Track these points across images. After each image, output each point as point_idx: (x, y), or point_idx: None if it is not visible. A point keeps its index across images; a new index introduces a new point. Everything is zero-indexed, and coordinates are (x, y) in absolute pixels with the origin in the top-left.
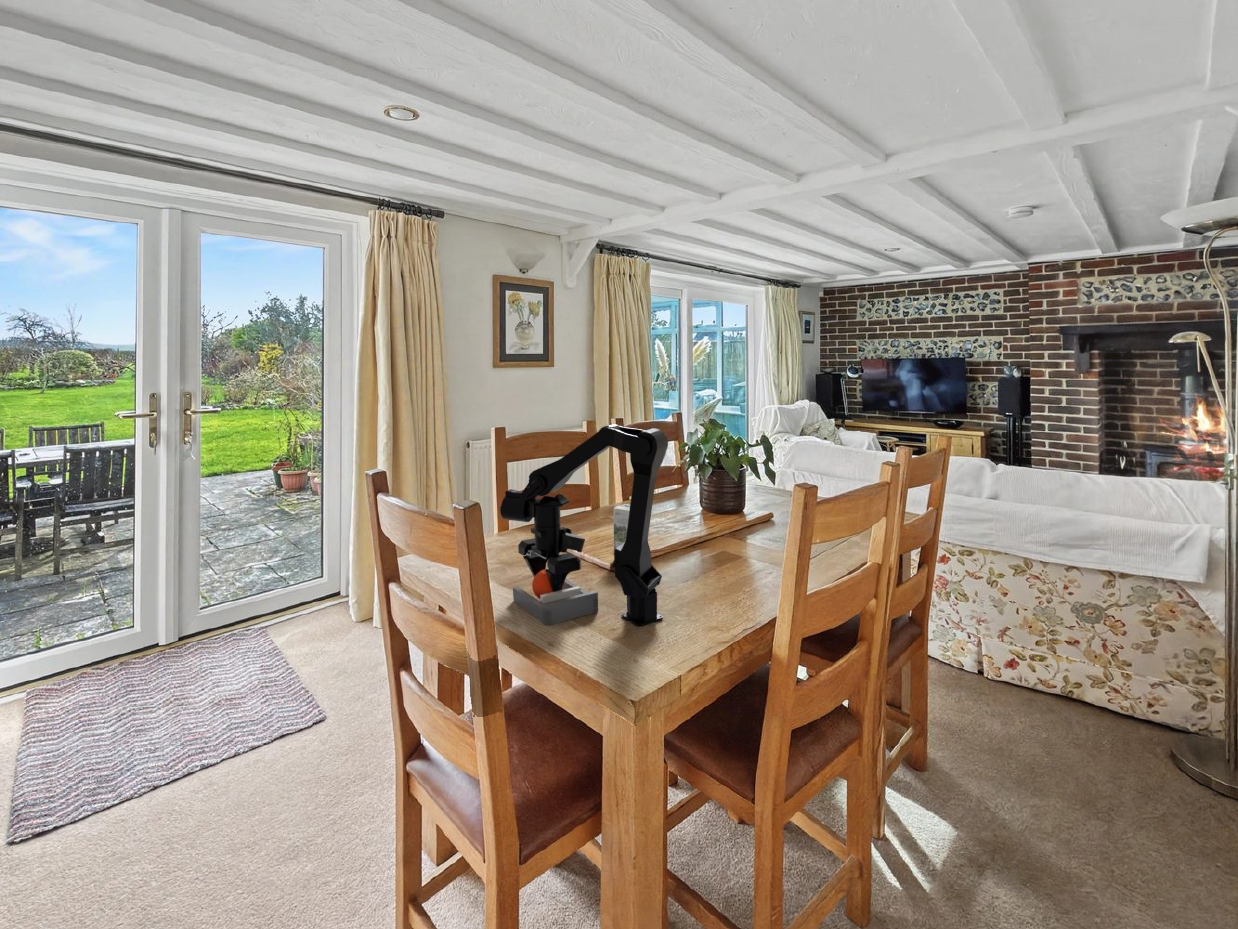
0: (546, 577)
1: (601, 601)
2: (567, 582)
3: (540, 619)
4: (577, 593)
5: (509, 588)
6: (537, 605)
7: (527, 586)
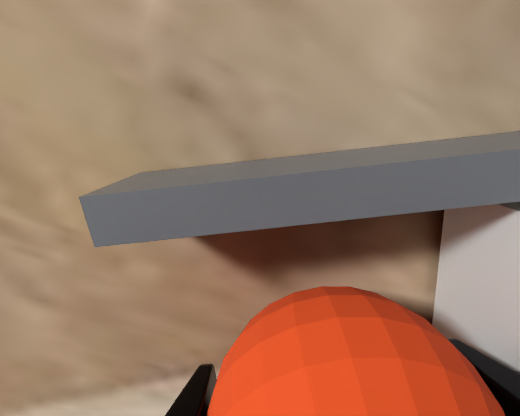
0: None
1: (498, 2)
2: (278, 213)
3: None
4: None
5: (21, 409)
6: None
7: (14, 332)
